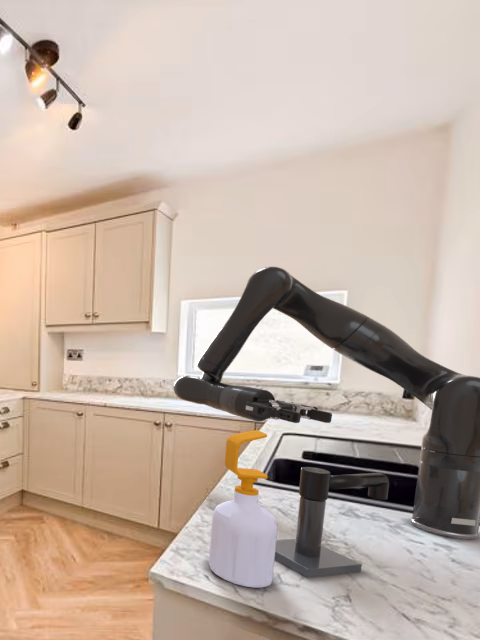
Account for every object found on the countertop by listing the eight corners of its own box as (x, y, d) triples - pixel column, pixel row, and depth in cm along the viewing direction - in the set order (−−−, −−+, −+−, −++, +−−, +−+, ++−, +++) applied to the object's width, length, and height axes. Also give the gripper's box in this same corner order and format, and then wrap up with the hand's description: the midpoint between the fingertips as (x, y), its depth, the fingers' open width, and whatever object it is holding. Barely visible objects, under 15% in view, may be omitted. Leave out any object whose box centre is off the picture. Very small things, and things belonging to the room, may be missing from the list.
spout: (370, 492, 80) (374, 463, 80) (395, 500, 76) (399, 470, 76) (292, 497, 77) (295, 467, 76) (314, 506, 73) (317, 474, 72)
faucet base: (304, 544, 82) (310, 486, 81) (361, 572, 73) (368, 507, 71) (256, 549, 80) (262, 489, 79) (307, 578, 71) (315, 510, 69)
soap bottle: (283, 592, 66) (298, 439, 64) (220, 585, 68) (232, 435, 66) (256, 563, 75) (269, 427, 72) (201, 557, 77) (211, 424, 74)
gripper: (224, 386, 100) (292, 400, 85) (271, 387, 104) (344, 400, 88) (219, 417, 101) (285, 436, 86) (266, 417, 105) (336, 435, 89)
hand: (315, 418), depth 87 cm, fingers open, 8 cm apart
